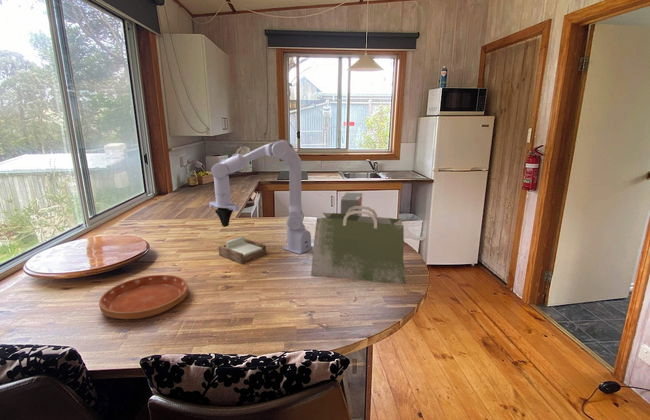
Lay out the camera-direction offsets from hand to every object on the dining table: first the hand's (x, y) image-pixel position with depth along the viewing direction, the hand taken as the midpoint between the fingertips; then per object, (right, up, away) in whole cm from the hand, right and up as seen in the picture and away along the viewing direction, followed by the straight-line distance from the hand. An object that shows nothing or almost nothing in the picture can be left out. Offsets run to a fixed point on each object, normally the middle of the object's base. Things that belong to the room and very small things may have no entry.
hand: (225, 226), depth 138 cm
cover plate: (+8, -9, -5) cm, 13 cm away
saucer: (-12, -21, -38) cm, 45 cm away
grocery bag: (+52, -15, -19) cm, 57 cm away
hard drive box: (+52, -7, +12) cm, 53 cm away
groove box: (+8, -11, -4) cm, 14 cm away
